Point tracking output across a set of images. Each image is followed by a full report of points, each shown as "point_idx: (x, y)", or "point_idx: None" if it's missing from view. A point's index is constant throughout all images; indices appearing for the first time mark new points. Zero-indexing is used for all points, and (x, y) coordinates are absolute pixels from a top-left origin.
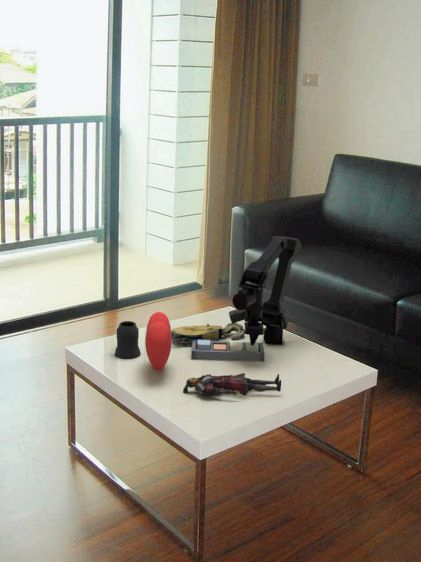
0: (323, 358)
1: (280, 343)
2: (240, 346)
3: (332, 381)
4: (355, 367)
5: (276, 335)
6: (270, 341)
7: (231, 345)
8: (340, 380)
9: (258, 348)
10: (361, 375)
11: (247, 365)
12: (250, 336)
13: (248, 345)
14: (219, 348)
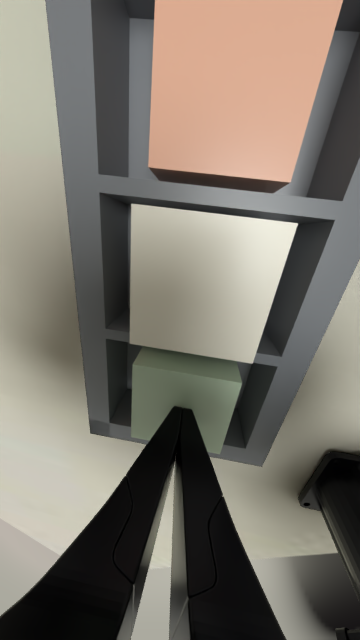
0: (156, 539)
1: (304, 500)
2: (132, 322)
3: (2, 506)
4: None
5: (342, 545)
6: (334, 481)
7: (133, 226)
8: (15, 519)
9: (133, 429)
10: (57, 553)
11: (52, 314)
12: (113, 498)
13: (166, 388)
14: (176, 62)
